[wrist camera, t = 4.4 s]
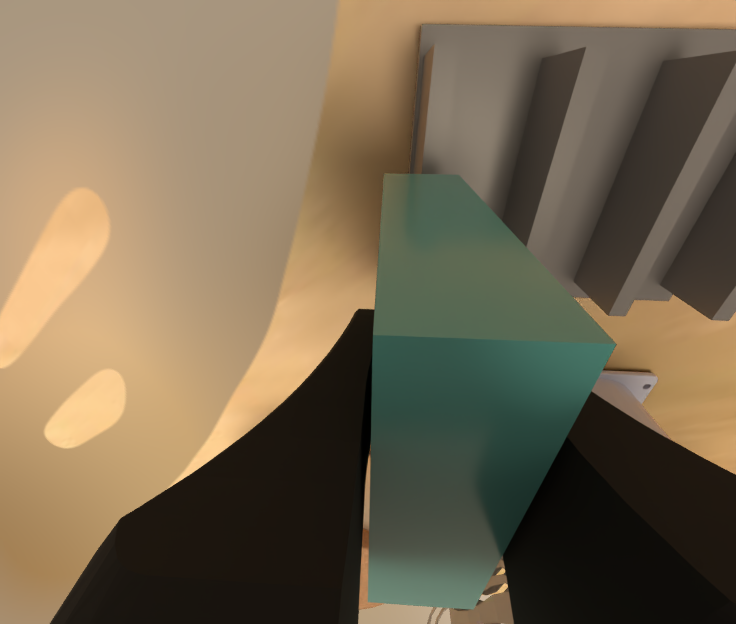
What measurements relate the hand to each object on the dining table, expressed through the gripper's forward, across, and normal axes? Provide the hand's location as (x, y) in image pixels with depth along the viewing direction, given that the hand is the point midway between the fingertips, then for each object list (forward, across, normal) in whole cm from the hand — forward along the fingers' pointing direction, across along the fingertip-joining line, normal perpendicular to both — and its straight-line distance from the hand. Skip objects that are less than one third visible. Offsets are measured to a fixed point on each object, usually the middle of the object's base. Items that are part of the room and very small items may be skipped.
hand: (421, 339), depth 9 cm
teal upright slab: (+4, 0, 0) cm, 4 cm away
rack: (+10, -8, -2) cm, 13 cm away
